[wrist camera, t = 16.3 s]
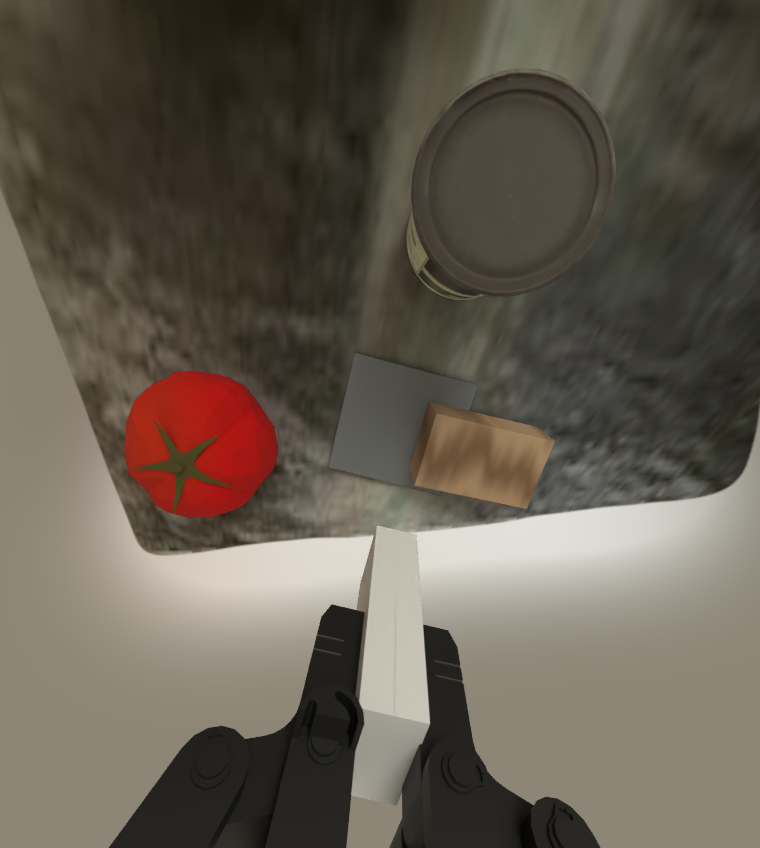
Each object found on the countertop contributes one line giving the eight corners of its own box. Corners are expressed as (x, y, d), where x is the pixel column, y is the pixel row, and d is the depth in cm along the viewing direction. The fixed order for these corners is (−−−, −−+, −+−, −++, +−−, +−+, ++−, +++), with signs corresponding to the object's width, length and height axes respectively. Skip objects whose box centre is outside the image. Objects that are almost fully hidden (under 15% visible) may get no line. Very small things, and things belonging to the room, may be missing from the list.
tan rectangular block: (436, 413, 33) (554, 441, 34) (429, 401, 36) (535, 426, 38) (414, 485, 35) (526, 508, 36) (409, 466, 38) (511, 488, 40)
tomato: (288, 490, 41) (252, 550, 31) (175, 480, 41) (103, 536, 31) (288, 366, 37) (247, 389, 27) (163, 356, 37) (76, 375, 27)
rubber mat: (355, 352, 36) (354, 353, 36) (476, 384, 37) (477, 385, 36) (329, 464, 40) (328, 467, 39) (439, 492, 40) (440, 495, 40)
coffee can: (547, 256, 33) (649, 222, 20) (443, 322, 35) (471, 333, 22) (491, 139, 31) (563, 11, 17) (383, 218, 33) (372, 157, 19)
